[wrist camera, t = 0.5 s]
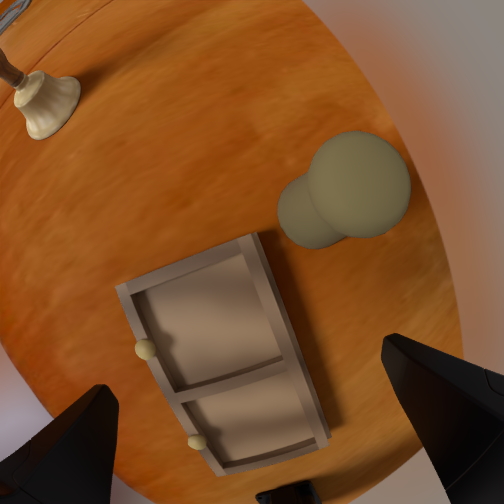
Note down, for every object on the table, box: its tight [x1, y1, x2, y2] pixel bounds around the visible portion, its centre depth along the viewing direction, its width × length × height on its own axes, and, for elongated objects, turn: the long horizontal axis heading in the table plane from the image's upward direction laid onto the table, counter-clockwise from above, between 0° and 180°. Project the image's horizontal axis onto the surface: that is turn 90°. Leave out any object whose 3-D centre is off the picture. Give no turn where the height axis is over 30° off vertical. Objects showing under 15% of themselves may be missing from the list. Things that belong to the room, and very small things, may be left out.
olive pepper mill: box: [277, 131, 411, 249], centre depth 16 cm, size 6×6×11 cm
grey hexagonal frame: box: [0, 0, 31, 35], centre depth 20 cm, size 17×20×1 cm
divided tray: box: [115, 232, 332, 477], centre depth 20 cm, size 20×12×3 cm, turn 21°
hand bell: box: [0, 49, 81, 140], centre depth 13 cm, size 8×8×16 cm
